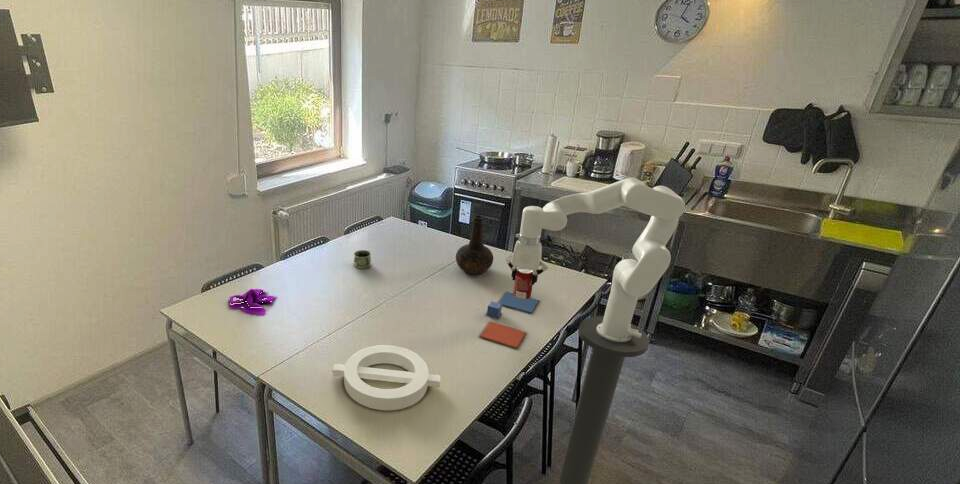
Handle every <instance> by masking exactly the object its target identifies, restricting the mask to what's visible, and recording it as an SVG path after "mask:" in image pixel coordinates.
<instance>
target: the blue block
mask: <svg viewBox="0 0 960 484" xmlns="http://www.w3.org/2000/svg"><path fill="white" fill-rule="evenodd" d="M502 308H503V306H502V304H500V303H499V302H496V301H490V302H489V304H488V305H487V312H486V316H488V317H491V318H494V319H498V318H499V317H500V315H501V313H502Z"/></svg>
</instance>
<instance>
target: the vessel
mask: <svg viewBox="0 0 960 484" xmlns="http://www.w3.org/2000/svg"><path fill="white" fill-rule="evenodd" d="M353 255H354V257H353V262H354V266H355V267H356V268H359V269H366V268H369V267H370V266H371V262H372V258H371V255H372V252H371V251H369V250H365V249H359V250H356V251H354V253H353Z"/></svg>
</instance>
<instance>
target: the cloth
mask: <svg viewBox="0 0 960 484" xmlns="http://www.w3.org/2000/svg"><path fill="white" fill-rule="evenodd" d="M263 291H264V290H263V289H261V288H250V289H249V290H248V291H247V292H244V293H243V294H236V295H230V296H229V297H228V302H229V301H230V303H231V304H233V303H241V302H244V303H241V304H234V305H230V304H229V303H228V305H229V308H230V309H231V310H241V311H242V312H243V313H245V314H247V315H256V316H265V314H266V312H267V309H266V308H264V307H263V306H272V304H273V303H274V301H275V300H276V296H274V295H268V294H267V292H266V291H264V292H263ZM261 292H262V293H261ZM260 293H261V294H260ZM234 297H236V298H239V299H243V300H241V301H240V300H236V301H233V298H234ZM274 297H275V298H274ZM229 298H230V300H229ZM264 298H267V299H265V300H262V299H264ZM273 299H274V300H273ZM245 301H247V302H245ZM270 301H272V302H270ZM262 302H263V303H262ZM247 303H248V304H247ZM248 305H249V306H248ZM241 307H244V308H241ZM250 307H262V308H250Z"/></svg>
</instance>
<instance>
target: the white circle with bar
mask: <svg viewBox="0 0 960 484" xmlns="http://www.w3.org/2000/svg"><path fill="white" fill-rule="evenodd" d="M378 364H389V365H395V366H399V367H402V368H403V369H405V370H406V371H405V370H398V369H397V370H396V369H388V368H380V367H379V368H377V367H371V366H374V365H378ZM332 376H333V377H341V378H343V384H344V389H345V391H346V393H347V394H348V396H349V397H350V398H351V399H352V400H354V401H355V402H357V403H358V404H360V405H362V406H364V407H366V408H369V409H373V410H377V411H398V410H403V409H406V408H409V407H411V406H413V405H415V404H417V403H418V402H419V401H421V399H423V398H424V397H425V395H426V393H427V390H428V388H429V387H431V388H433V387H434V388H441V374H433V373H429V367H428V365H427V363H426V361H425V360H424V359H423V358H422V357H421V356H420V355H419V354H417V353H416V352H414V351H412V350H410V349H408V348H405V347H402V346H397V345H393V344H392V345H390V344H379V345H371V346H366V347H365V348H362V349H359V350H357V351H356V352H354V353H353V354H352V355H350V357H348V359H347V360H346V362H345V363H344V364H343V363H334V364H333V367H332ZM362 379H364V380H373V381H374V380H375V381H383V382H391V383H401V384H405V385H403V386H400V387H396V388H380V387H375V386H372V385H369V384H368V383H366V382H364V381H363V380H362Z"/></svg>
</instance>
